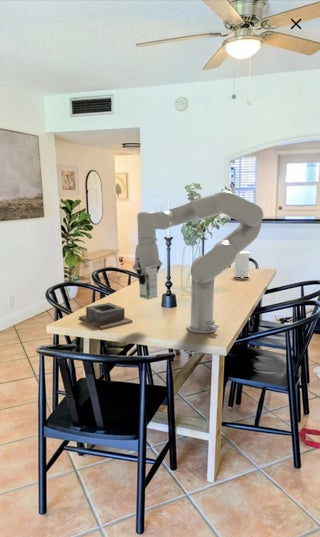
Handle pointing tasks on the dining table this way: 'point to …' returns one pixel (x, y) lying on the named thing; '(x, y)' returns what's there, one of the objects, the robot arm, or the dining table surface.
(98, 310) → the socket stand
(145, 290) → the syrup box
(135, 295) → the dining table surface
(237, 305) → the dining table surface
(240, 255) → the decorative container
